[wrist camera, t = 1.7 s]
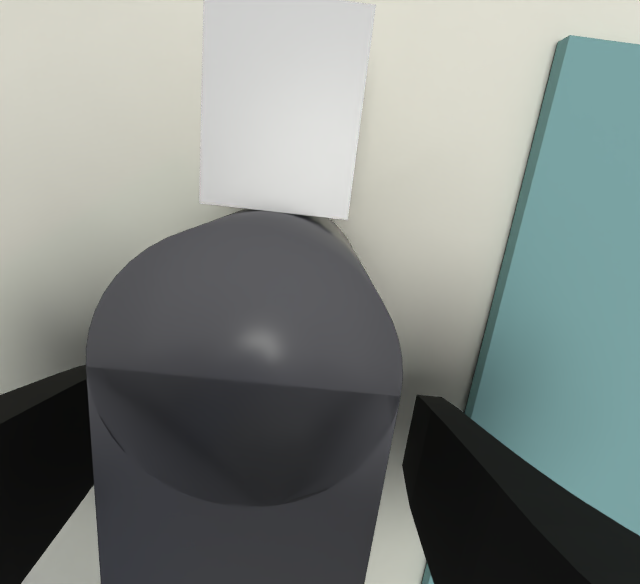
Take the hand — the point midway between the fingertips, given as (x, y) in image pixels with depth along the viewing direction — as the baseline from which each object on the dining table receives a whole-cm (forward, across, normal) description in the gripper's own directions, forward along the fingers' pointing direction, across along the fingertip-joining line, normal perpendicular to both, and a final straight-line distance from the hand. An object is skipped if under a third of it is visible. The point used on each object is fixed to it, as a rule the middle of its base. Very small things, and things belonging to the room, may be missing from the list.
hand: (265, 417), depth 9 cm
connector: (+1, 0, -1) cm, 2 cm away
